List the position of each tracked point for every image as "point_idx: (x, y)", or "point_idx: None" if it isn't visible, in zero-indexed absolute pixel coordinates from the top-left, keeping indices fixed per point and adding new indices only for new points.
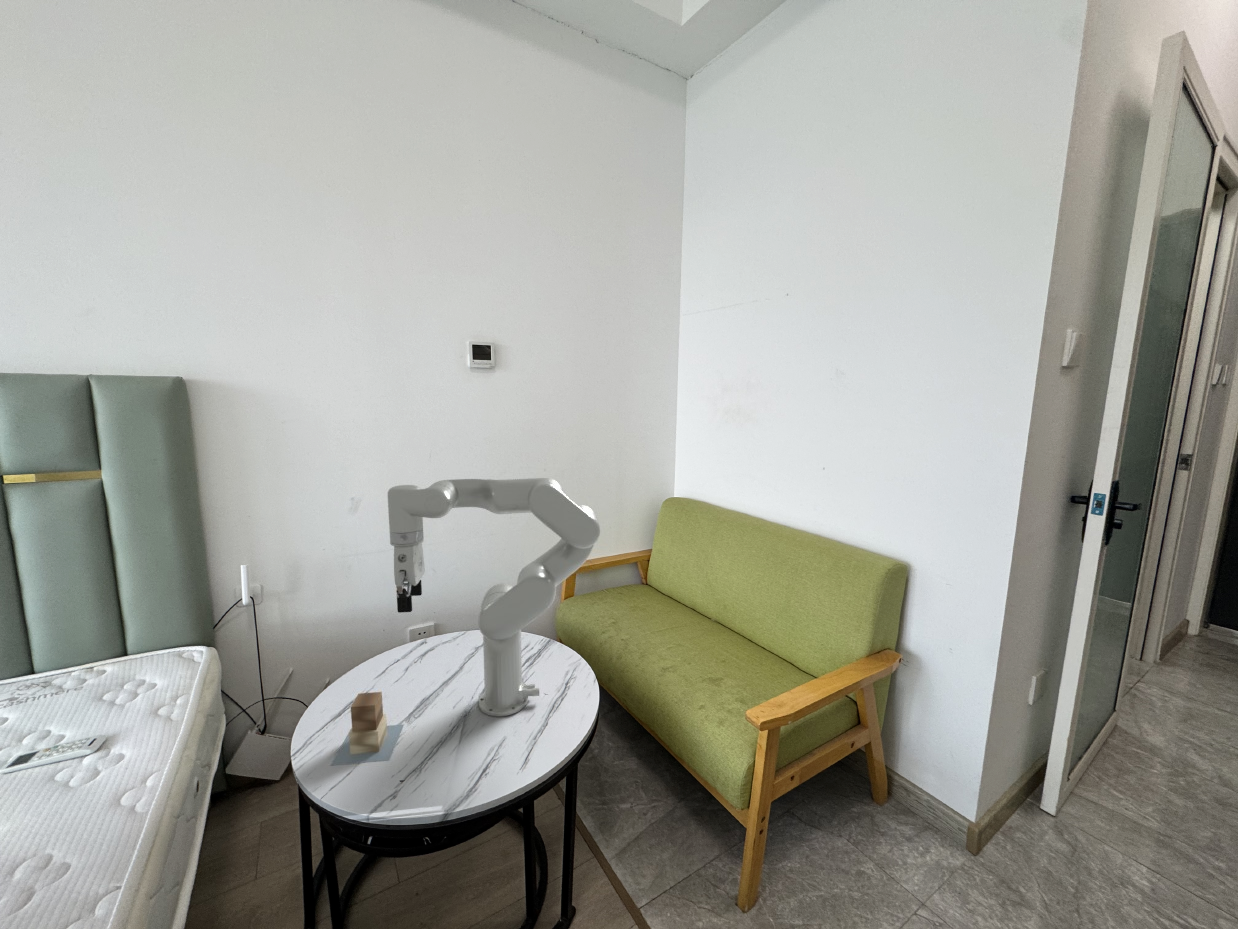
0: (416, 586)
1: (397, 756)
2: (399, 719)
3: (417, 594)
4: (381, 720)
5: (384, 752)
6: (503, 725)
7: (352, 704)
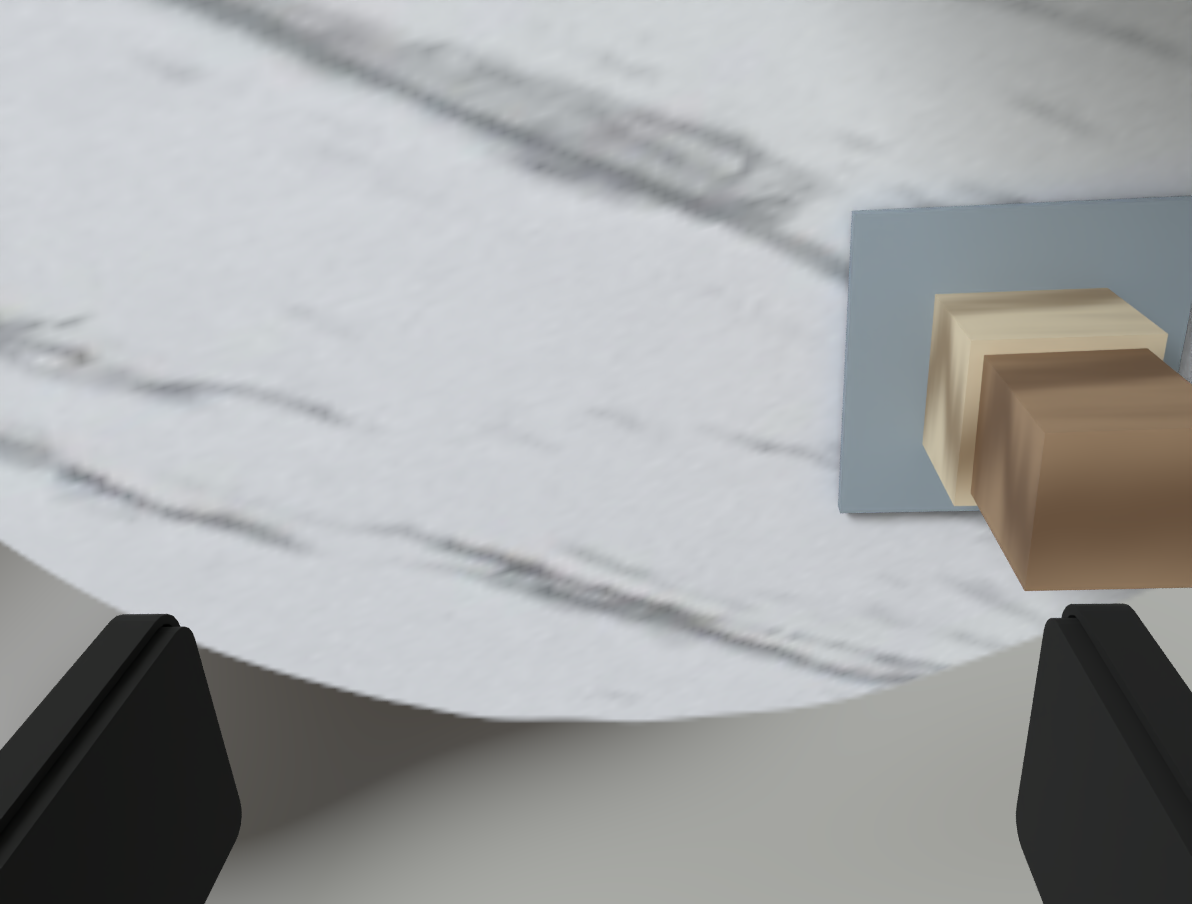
0: (98, 861)
1: (1144, 164)
2: (757, 267)
3: (191, 692)
4: (1040, 348)
5: (1126, 252)
6: None
7: (1175, 585)
